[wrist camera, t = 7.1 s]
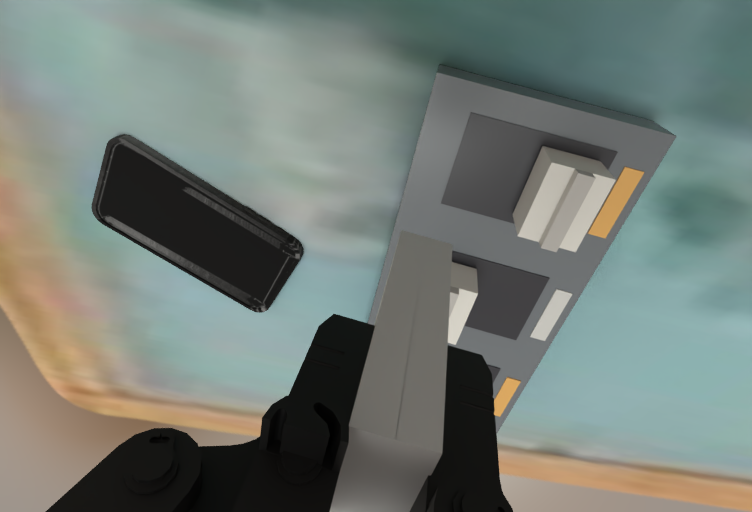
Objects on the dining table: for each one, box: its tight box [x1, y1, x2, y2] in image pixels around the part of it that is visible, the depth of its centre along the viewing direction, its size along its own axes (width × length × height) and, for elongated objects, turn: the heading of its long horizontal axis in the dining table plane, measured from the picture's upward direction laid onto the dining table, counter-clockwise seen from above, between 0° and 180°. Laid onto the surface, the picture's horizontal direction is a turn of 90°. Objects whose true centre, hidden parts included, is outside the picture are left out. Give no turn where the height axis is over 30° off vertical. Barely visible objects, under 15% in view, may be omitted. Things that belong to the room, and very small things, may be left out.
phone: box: [92, 135, 303, 312], centre depth 32 cm, size 8×1×15 cm
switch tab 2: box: [513, 146, 616, 252], centre depth 22 cm, size 4×3×3 cm
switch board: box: [368, 65, 676, 433], centre depth 29 cm, size 24×12×3 cm, turn 168°
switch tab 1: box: [448, 262, 478, 345], centre depth 26 cm, size 4×3×3 cm
